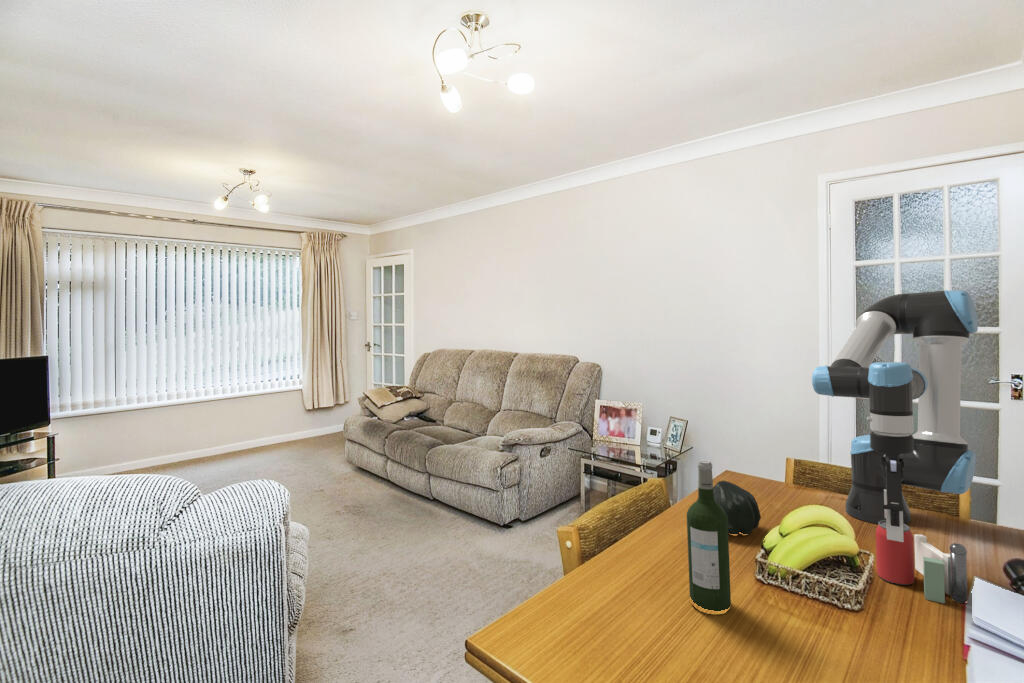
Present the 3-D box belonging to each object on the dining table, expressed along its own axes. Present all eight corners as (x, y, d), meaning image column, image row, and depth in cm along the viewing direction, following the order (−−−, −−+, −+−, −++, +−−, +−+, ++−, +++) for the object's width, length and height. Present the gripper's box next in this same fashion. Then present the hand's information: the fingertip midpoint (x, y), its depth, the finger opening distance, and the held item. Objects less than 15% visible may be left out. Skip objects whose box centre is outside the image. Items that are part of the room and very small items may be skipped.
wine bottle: (729, 597, 103) (723, 457, 102) (733, 618, 96) (727, 467, 95) (689, 592, 106) (684, 455, 105) (690, 612, 98) (684, 466, 97)
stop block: (924, 594, 101) (923, 556, 100) (943, 598, 99) (942, 560, 99) (925, 599, 99) (924, 560, 99) (944, 603, 97) (943, 564, 97)
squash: (773, 508, 136) (733, 465, 141) (768, 530, 124) (724, 482, 128) (733, 533, 142) (696, 491, 147) (725, 557, 130) (684, 510, 135)
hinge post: (949, 595, 100) (948, 539, 100) (967, 599, 98) (965, 542, 98) (951, 601, 98) (950, 544, 97) (969, 605, 96) (967, 547, 96)
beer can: (921, 587, 103) (920, 531, 103) (886, 585, 105) (885, 530, 104) (903, 571, 110) (902, 519, 109) (870, 570, 111) (869, 518, 111)
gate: (957, 595, 100) (956, 557, 99) (948, 595, 100) (947, 556, 100) (923, 569, 110) (922, 534, 110) (915, 568, 111) (914, 534, 111)
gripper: (869, 422, 119) (871, 508, 119) (870, 442, 98) (873, 546, 99) (909, 424, 114) (911, 513, 115) (918, 446, 94) (921, 555, 94)
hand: (893, 529), depth 107 cm, fingers open, 13 cm apart
